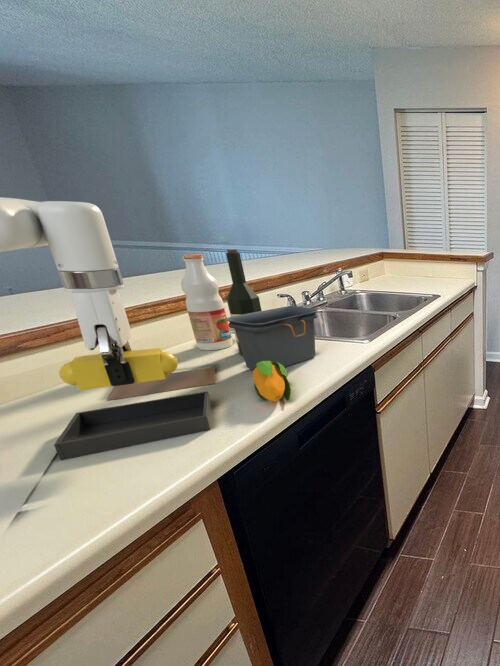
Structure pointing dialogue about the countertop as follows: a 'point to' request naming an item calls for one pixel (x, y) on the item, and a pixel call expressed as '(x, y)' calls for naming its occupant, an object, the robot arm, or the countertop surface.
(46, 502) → the countertop surface
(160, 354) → the yellow rounded-end bar
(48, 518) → the countertop surface
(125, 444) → the tray
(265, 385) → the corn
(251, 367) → the storage bin
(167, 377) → the board
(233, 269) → the wine bottle
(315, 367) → the countertop surface
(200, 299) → the fruit juice
